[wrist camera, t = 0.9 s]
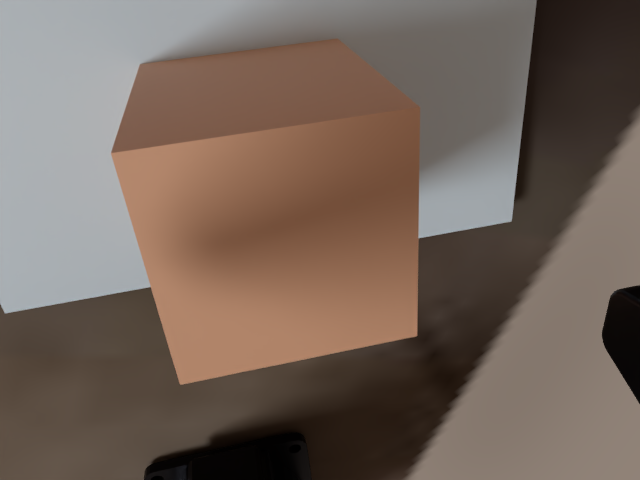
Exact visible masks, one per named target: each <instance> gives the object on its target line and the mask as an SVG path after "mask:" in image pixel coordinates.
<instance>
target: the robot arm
mask: <svg viewBox="0 0 640 480" xmlns="http://www.w3.org/2000/svg"><path fill="white" fill-rule="evenodd" d="M602 338H603V343H604V346H605V348H606V350H607V352H608V353H609V355H610V356H611V358H612V360H613V361H614V363H615V364H616V366H617V368H618V369H619V371H620V373H621V374H622V376H623V378H624V379H625V381H626V382H627V384H628V386H629V387H630V389H631V391H632V392H633V394H634V395H635V397H636V399H637V400H638V402H639V404H640V286H633V287H628V288H623V289H619V290H617V291H614V293H613V294H612V295H611V297H610V300H609V305H608V309H607V313H606V317H605V322H604V326H603V330H602ZM144 480H312V478H311V471H310V464H309V457H308V450H307V444H306V440H305V437H304V435H303V434H301V433H297V432H296V433H289V434H284V435H280V436H275V437H271V438H266V439H262V440H257V441H253V442H249V443H244V444H240V445H235V446H231V447H226V448H222V449H217V450H213V451H208V452H204V453H199V454H195V455H190V456H186V457H181V458H177V459H172V460H168V461H163V462H159V463H154V464H152V465H150V466H148V467H147V468H146V470H145V475H144Z"/></svg>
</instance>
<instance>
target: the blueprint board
mask: <svg viewBox="0 0 640 480" xmlns="http://www.w3.org/2000/svg"><path fill="white" fill-rule="evenodd" d="M536 2H537V0H0V304H1V306H2V308H3V310H4V312H5V313H10V312H15V311H21V310H26V309H32V308H37V307H43V306H48V305H54V304H59V303H65V302H70V301H76V300H81V299H87V298H92V297H98V296H103V295H109V294H114V293H120V292H125V291H131V290H136V289H142V288H147V287H151V286H150V282H149V279H148V276H147V272H146V269H145V266H144V262H143V259H142V256H141V252H140V249H139V246H138V242H137V239H136V236H135V232H134V229H133V226H132V222H131V219H130V216H129V212H128V209H127V206H126V202H125V199H124V196H123V192H122V189H121V186H120V182H119V179H118V176H117V172H116V169H115V166H114V162H113V159H112V156H111V151H112V148H113V145H114V142H115V139H116V136H117V133H118V130H119V127H120V123H121V120H122V117H123V114H124V111H125V108H126V105H127V102H128V99H129V96H130V93H131V90H132V87H133V84H134V81H135V77H136V74H137V71H138V68H139V65H140V64H145V63H152V62H160V61H168V60H176V59H183V58H191V57H199V56H206V55H214V54H222V53H230V52H237V51H245V50H253V49H260V48H268V47H276V46H283V45H291V44H299V43H307V42H314V41H322V40H330V39H337V38H338V39H339V40H340V41H341V42H342V43H344V44H345V45H346V46H347V47H349V48H350V49H351V50H352V51H353V52H355V53H356V54H357V55H358V56H359V57H361V58H362V59H363V60H364V61H365V62H367V63H368V64H369V65H370V66H371V67H373V68H374V69H375V70H376V71H377V72H379V73H380V74H381V75H382V76H383V77H385V78H386V79H387V80H388V81H389V82H391V83H392V84H393V85H394V86H395V87H397V88H398V89H399V90H400V91H401V92H403V93H404V94H405V95H406V96H407V97H409V98H410V99H411V100H412V101H413V102H415V103H416V104H417V105H418V106H419V107H420V155H419V232H418V238H422V237H428V236H433V235H439V234H444V233H450V232H455V231H461V230H466V229H472V228H477V227H483V226H488V225H494V224H499V223H505V222H510V221H512V213H513V204H514V195H515V187H516V178H517V169H518V160H519V152H520V143H521V134H522V125H523V116H524V108H525V99H526V90H527V81H528V73H529V64H530V55H531V46H532V37H533V29H534V20H535V11H536Z"/></svg>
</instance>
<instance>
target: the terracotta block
mask: <svg viewBox="0 0 640 480" xmlns="http://www.w3.org/2000/svg"><path fill="white" fill-rule="evenodd" d="M419 155H420V107H419V106H418V105H417V104H416V103H415V102H413V101H412V100H411V99H410V98H409V97H407V96H406V95H405V94H404V93H403V92H401V91H400V90H399V89H398V88H397V87H395V86H394V85H393V84H392V83H391V82H389V81H388V80H387V79H386V78H385V77H383V76H382V75H381V74H380V73H379V72H377V71H376V70H375V69H374V68H373V67H371V66H370V65H369V64H368V63H367V62H365V61H364V60H363V59H362V58H361V57H359V56H358V55H357V54H356V53H355V52H353V51H352V50H351V49H350V48H349V47H347V46H346V45H345V44H344V43H342V42H341V41H340V40H339V39H338V38H337V39H330V40H322V41H314V42H307V43H299V44H291V45H283V46H276V47H268V48H260V49H253V50H245V51H237V52H230V53H222V54H214V55H206V56H199V57H191V58H183V59H176V60H168V61H160V62H152V63H145V64H140V65H139V68H138V71H137V74H136V77H135V81H134V84H133V87H132V90H131V93H130V96H129V99H128V102H127V105H126V108H125V111H124V114H123V117H122V120H121V123H120V127H119V130H118V133H117V136H116V139H115V142H114V145H113V148H112V151H111V156H112V159H113V162H114V166H115V169H116V172H117V176H118V179H119V182H120V186H121V189H122V192H123V196H124V199H125V202H126V206H127V209H128V212H129V216H130V219H131V222H132V226H133V229H134V232H135V236H136V239H137V242H138V246H139V249H140V252H141V256H142V259H143V262H144V266H145V269H146V272H147V276H148V279H149V282H150V286H151V289H152V292H153V296H154V299H155V302H156V306H157V309H158V312H159V316H160V319H161V322H162V326H163V329H164V332H165V336H166V339H167V342H168V346H169V349H170V353H171V356H172V359H173V363H174V366H175V369H176V373H177V376H178V379H179V383H180V385H182V384H187V383H192V382H196V381H201V380H206V379H211V378H216V377H221V376H226V375H230V374H235V373H240V372H245V371H250V370H255V369H260V368H264V367H269V366H274V365H279V364H284V363H289V362H294V361H298V360H303V359H308V358H313V357H318V356H323V355H328V354H332V353H337V352H342V351H347V350H352V349H357V348H362V347H366V346H371V345H376V344H381V343H386V342H391V341H396V340H400V339H405V338H410V337H415V336H417V310H418V232H419Z"/></svg>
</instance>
